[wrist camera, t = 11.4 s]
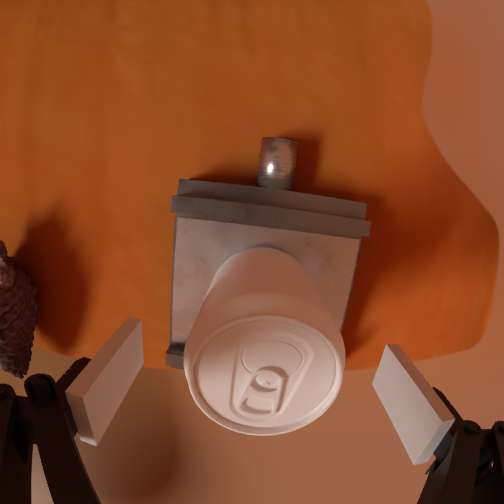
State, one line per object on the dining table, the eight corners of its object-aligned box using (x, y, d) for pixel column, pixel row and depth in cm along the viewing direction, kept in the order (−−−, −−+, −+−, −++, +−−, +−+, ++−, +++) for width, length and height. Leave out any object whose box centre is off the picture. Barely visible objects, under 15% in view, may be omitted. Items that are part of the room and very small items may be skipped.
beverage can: (322, 258, 24) (379, 323, 12) (295, 345, 25) (317, 447, 14) (222, 234, 23) (191, 283, 12) (203, 326, 25) (170, 424, 13)
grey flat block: (193, 135, 25) (181, 125, 20) (360, 158, 25) (380, 153, 20) (177, 369, 30) (166, 395, 25) (316, 384, 30) (323, 410, 25)
